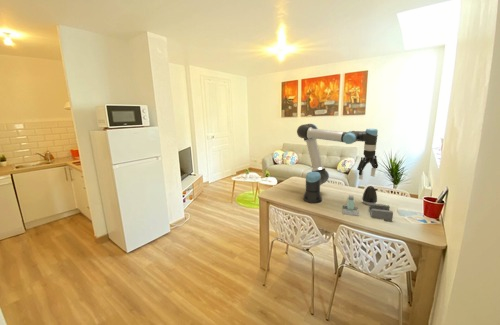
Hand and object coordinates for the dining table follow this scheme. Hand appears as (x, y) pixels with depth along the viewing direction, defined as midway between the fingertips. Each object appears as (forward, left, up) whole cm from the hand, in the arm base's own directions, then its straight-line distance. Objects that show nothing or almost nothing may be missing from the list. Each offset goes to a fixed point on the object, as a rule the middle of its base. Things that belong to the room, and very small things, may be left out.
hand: (366, 177), depth 156 cm
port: (+8, -16, -23) cm, 29 cm away
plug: (-11, -17, -22) cm, 30 cm away
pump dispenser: (+4, +3, -23) cm, 24 cm away
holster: (-11, -17, -23) cm, 30 cm away
